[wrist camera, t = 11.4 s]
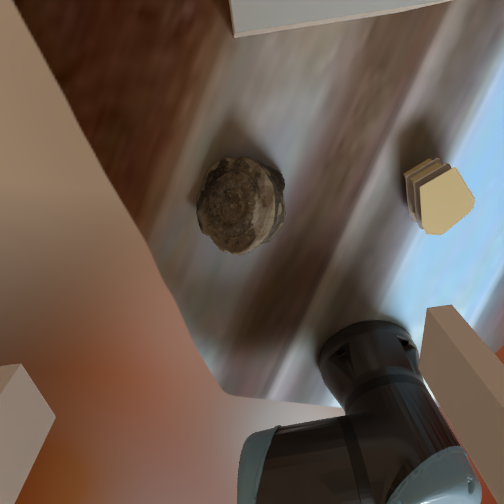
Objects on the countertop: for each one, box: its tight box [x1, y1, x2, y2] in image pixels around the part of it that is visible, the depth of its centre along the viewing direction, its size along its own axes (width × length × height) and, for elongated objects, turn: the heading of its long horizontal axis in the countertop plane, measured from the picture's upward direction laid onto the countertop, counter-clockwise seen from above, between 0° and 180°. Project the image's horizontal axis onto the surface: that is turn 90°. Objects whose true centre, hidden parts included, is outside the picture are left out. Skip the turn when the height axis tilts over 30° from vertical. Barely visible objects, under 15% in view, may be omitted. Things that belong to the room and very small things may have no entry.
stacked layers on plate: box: [403, 158, 475, 235], centre depth 41 cm, size 10×9×6 cm
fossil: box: [196, 157, 285, 255], centre depth 40 cm, size 11×9×10 cm
